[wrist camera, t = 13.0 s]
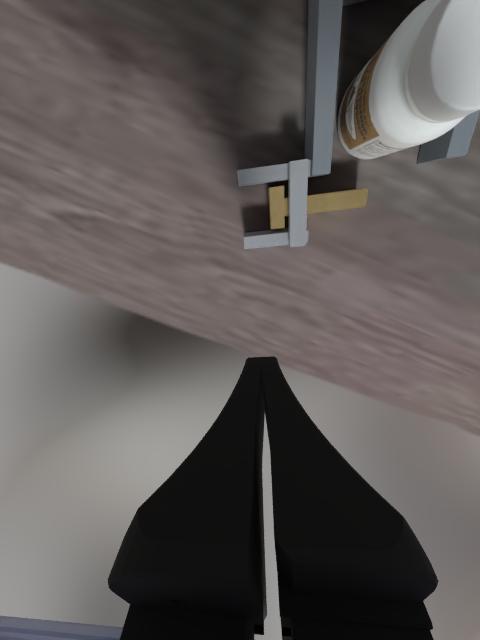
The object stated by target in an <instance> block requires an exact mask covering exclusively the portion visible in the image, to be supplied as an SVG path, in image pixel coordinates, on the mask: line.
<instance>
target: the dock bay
mask: <svg viewBox="0 0 480 640" xmlns="http://www.w3.org/2000/svg"><path fill="white" fill-rule="evenodd" d="M365 1H369V0H309V2H308V42H307V82H306V123H305V159H303V160H296V161H290V162H289V163H285V164H278V165H271V166H264V167H257V168H250V169H243V170H237V176H238V186H240V187H243V186H250V185H258V184H265V183H273V182H281V181H288V224H289V228H283V229H274V230H265V231H256V232H246V233H245V234H244V247H245V249H251V248H261V247H271V246H281V245H289V246H290V247H297V246H306V243H308V230H307V229H306V220H307V189H308V178H311V177H318V176H323V175H326V174H330V171H331V157H332V143H333V130H334V116H335V102H336V88H337V75H338V61H339V47H340V33H341V20H342V6H346V5H350V4H355V3H360V2H365ZM479 113H480V110H478V111H475V112H473V113H471V114H469V115H467V116H466V117H465V118H464V119H463V120H461V121H460V122H459V123H458V124H457V125H456V126H454V127H453V128H452V129H451V130H449V131H448V132H446V133H445V134H443V135H441V136H439V137H438V138H436V139H434V140H431V141H429V142H426V143H423V144H421V147H420V152H419V156H418V160H417V163H425V162H432V161H438V160H443V159H449V158H454V157H460V156H465V155H467V152H468V149H469V145H470V142H471V139H472V136H473V133H474V129H475V126H476V123H477V120H478V117H479Z"/></svg>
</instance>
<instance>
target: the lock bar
mask: <svg viewBox="0 0 480 640" xmlns="http://www.w3.org/2000/svg"><path fill="white" fill-rule="evenodd" d="M368 189H369V188H364V189H352V190H344V191H335V192H327V193H319V194H311V195H307V213H316V212H325V211H334V210H342V209H351V208H360V207H366V203H367V196H368ZM268 201H269V224H270V228H271V229H277V228H285V218H284V216H288V197H287V198H284V186H278V187H270V188H268Z"/></svg>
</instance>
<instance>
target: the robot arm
mask: <svg viewBox="0 0 480 640" xmlns="http://www.w3.org/2000/svg"><path fill="white" fill-rule="evenodd" d="M264 414H265V415H266V423H267V430H268V437H269V444H270V453H271V474H272V493H273V494H272V495H273V517H274V539H275V550H276V561H277V572H278V588H279V589H278V590H279V608H280V617H281V627H282V639H283V640H433V637H432V635H431V632H430V630H431V629H433V626H432V622H431V620H430V617H429V615H428V612H427V610H426V607H425V605H424V603H423V600H424V599H426V598H427V597H428V596H429V595H430V594H431V593H432V592H434V590H435V589H436V587H437V584H438V579H437V577H436V574H435V572H434V570H433V568H432V565H431V563H430V561H429V559H428V557H427V555H426V553H425V552H424V550H423V548H422V546H421V545H420V543H419V541H418V540H417V538H416V536H415V534H414V533H413V531H412V529H411V528H410V526H409V525H408V523H407V521H406V520H405V519H404V517H403V516H402V515H401V514H400V513H399V512H398V511H397V510H396V509H395V508H394V507H392V506H391V505H390V504H389V503H388V502H387V501H386V500H385V499H384V498H383V497H382V496H381V495H380V494H379V493H378V492H377V491H375V490H374V489H373V488H372V487H371V486H370V485H369V484H368V483H367V482H366V481H365V480H364V479H363V478H362V477H361V476H360V475H359V474H358V473H357V472H356V471H355V470H354V469H353V468H352V467H351V465H350V464H349V463H348V462H347V461H346V460H345V459H344V458H343V457H342V456H341V454H340V453H339V452H338V451H337V450H336V449H335V448H334V447H333V446H332V445H331V443H330V442H329V441H328V440H327V439H326V438H325V436H324V435H323V434H322V433H321V431H320V430H319V429H318V428H317V426H316V425H315V424H314V423H313V421H312V420H311V419H310V417H309V416H308V415H307V413H306V412H305V410H304V409H303V407H302V406H301V404H300V403H299V401H298V400H297V398H296V397H295V395H294V393H293V392H292V390H291V388H290V387H289V385H288V383H287V381H286V379H285V378H284V375H283V373H282V371H281V369H280V367H279V364H278V361H277V358H276V357H254V358H248V359H246V362H245V365H244V368H243V371H242V373H241V375H240V378H239V380H238V382H237V384H236V386H235V388H234V390H233V392H232V394H231V396H230V398H229V399H228V401H227V403H226V405H225V406H224V408H223V410H222V411H221V413H220V414H219V416H218V418H217V419H216V421H215V422H214V423H213V425H212V426H211V428H210V429H209V431H208V432H207V433H206V434H205V436H204V437H203V439H202V440H201V441H200V442H199V444H198V445H197V446H196V448H195V449H194V450H193V451H192V453H191V454H190V455H189V456H188V457H187V458H186V459H185V460H184V461H183V463H182V464H181V465H180V466H179V467H178V468H177V469H176V471H175V472H174V473H173V474H172V475H171V476H170V477H169V478H168V479H167V480H166V481H165V482H164V483H163V484H162V485H161V486H160V487H159V488H158V489H157V490H156V491H155V492H154V493H153V494H152V495H151V496H150V497H149V498H148V499H147V500H146V501H145V502H144V503H143V504H142V505H141V506H140V507H139V508H138V510H137V512H136V514H135V516H134V518H133V520H132V522H131V524H130V526H129V528H128V530H127V532H126V535H125V537H124V539H123V541H122V544H121V547H120V549H119V552H118V555H117V557H116V560H115V562H114V565H113V568H112V570H111V573H110V575H109V578H108V585H109V588H110V589H111V590H112V591H113V592H114V593H115V594H116V595H118V596H119V597H121V598H122V599H124V600H125V601H126V602H128V603H129V604H130V607H129V611H128V614H127V617H126V620H125V624H124V627H113V626H101V625H92V624H81V623H71V622H59V621H50V620H39V619H28V618H18V617H7V616H0V640H254V634H259V635H264V619H265V618H266V616H267V604H266V578H265V549H264V523H263V487H262V452H263V434H264Z"/></svg>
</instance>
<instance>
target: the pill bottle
mask: <svg viewBox="0 0 480 640" xmlns="http://www.w3.org/2000/svg"><path fill="white" fill-rule="evenodd" d="M478 110H480V0H425V1H424V2H422V3H421V4H420V5H419V6H417V7H416V8H415V9H414V10H413V11H412V12H411V13H410V14H409V15H408V16H407V17H406V19H405V20H404V21H403V22H402V23H401V24H400V25H399V26H398V27H397V29H396V30H395V31H394V32H393V33H392V34H391V35H390V37H389V38H388V39H387V40H386V41H385V42H384V44H383V45H382V46H381V47H380V48H379V50H378V51H377V52H376V53H375V54H374V55H373V57H372V58H371V59H370V60H369V61H368V62H367V64H366V65H365V66H364V68H363V69H362V70H361V71H360V72H359V74H358V75H357V76H356V77H355V78H354V79H353V81H352V82H351V84H350V85H349V87H348V89H347V90H346V92H345V95H344V97H343V99H342V102H341V105H340V109H339V114H338V134H339V138H340V141H341V143H342V145H343V147H344V148H345V150H346V151H347V152H348V153H349V154H351V155H352V156H354V157H357V158H360V159H372V158H377V157H380V156H384V155H387V154H390V153H394V152H397V151H400V150H403V149H407V148H410V147H413V146H417V145H420V144H423V143H426V142H429V141H431V140H434V139H436V138H438V137H439V136H441V135H443V134H445V133H446V132H448V131H449V130H451V129H452V128H453V127H454V126H456V125H457V124H458V123H459V122H460V121H461V120H463V119H464V118H465V117H466V116H467V115H469V114H471V113H473V112H475V111H478Z"/></svg>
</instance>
